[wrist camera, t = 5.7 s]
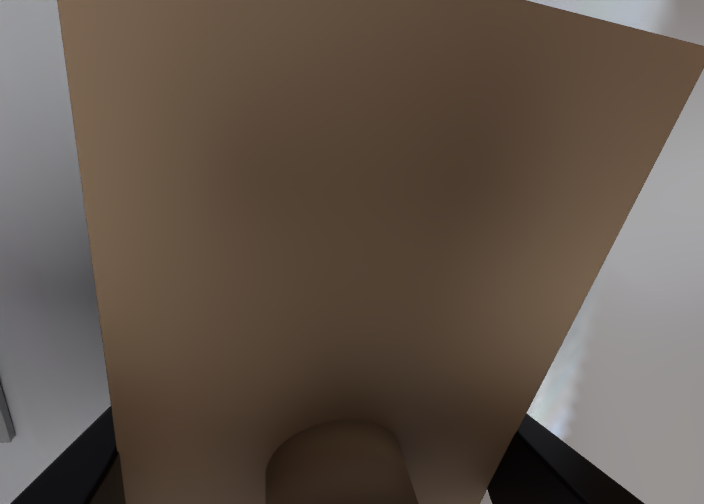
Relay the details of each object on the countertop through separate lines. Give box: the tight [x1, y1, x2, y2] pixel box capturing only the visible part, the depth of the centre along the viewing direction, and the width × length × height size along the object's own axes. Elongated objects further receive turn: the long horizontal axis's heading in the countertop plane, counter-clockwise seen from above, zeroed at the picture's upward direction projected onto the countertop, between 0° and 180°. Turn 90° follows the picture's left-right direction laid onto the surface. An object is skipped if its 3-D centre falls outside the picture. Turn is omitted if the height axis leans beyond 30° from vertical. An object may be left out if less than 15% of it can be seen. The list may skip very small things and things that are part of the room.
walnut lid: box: [57, 0, 704, 504], centre depth 7 cm, size 14×7×3 cm, turn 170°
